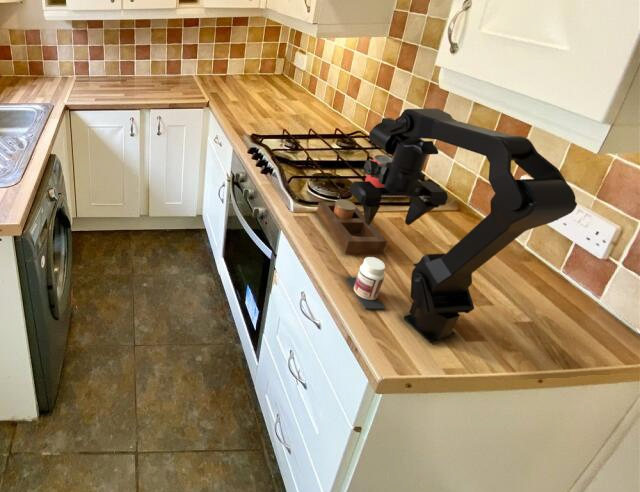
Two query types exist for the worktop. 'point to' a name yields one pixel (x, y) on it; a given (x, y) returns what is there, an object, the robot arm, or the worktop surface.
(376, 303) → the slate mat
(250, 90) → the worktop surface
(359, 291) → the pill bottle
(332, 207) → the pod stand
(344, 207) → the orange brown jar
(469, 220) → the worktop surface
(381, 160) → the beer can
